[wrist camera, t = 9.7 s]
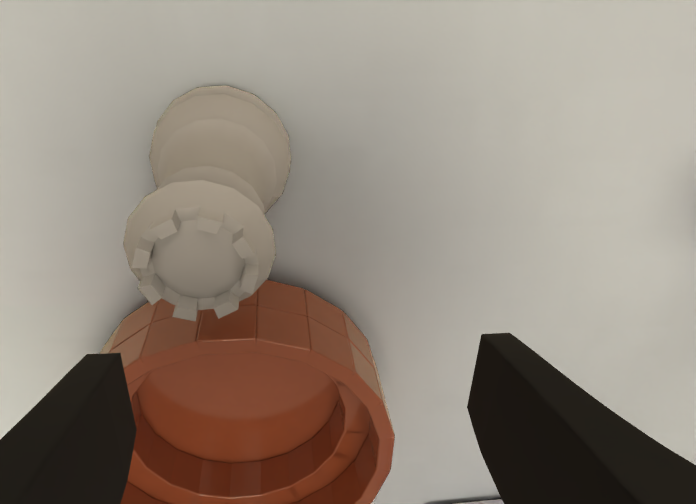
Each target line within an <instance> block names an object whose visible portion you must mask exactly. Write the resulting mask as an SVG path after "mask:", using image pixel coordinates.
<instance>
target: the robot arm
mask: <svg viewBox="0 0 696 504" xmlns="http://www.w3.org/2000/svg"><path fill="white" fill-rule="evenodd" d="M467 408H468V411H469V415H470V418H471V422H472V425H473V429H474V432H475V435H476V438H477V441H478V444H479V448H480V451H481V453H482V456H483V458H484V460H485V463H486V465H487V467H488V469H489V472H490V474H491V476H492V478H493V481H494V483H495V485H496V487H497V490H498V492H499V494H500V496H501V498H502V499H497V500H486V501H475V502H464V503H454V504H696V465H694V464H693V463H691V462H689V461H688V460H686V459H684V458H683V457H681V456H679V455H678V454H676V453H674V452H673V451H671V450H669V449H668V448H666V447H665V446H663V445H661V444H660V443H658V442H657V441H655V440H654V439H652V438H651V437H649V436H648V435H646V434H645V433H643V432H642V431H640V430H639V429H637V428H636V427H634V426H633V425H631V424H630V423H629V422H627V421H626V420H624V419H623V418H621V417H620V416H618V415H617V414H615V413H614V412H613V411H611V410H610V409H609V408H607V407H606V406H604V405H603V404H602V403H600V402H599V401H598V400H596V399H595V398H594V397H592V396H591V395H589V394H588V393H587V392H586V391H584V390H583V389H582V388H580V387H579V386H578V385H576V384H575V383H574V382H572V381H571V380H570V379H569V378H567V377H566V376H565V375H563V374H562V373H561V372H560V371H558V370H557V369H556V368H554V367H553V366H552V365H551V364H549V363H548V362H547V361H546V360H544V359H543V358H542V357H540V356H539V355H538V354H537V353H535V352H534V351H533V350H532V349H530V348H529V347H528V346H526V345H525V344H524V343H522V342H521V341H520V340H518V339H517V338H516V337H514V336H513V335H512V334H510V333H499V334H482V335H481V340H480V345H479V350H478V355H477V360H476V365H475V370H474V375H473V381H472V386H471V391H470V396H469V401H468V406H467ZM136 431H137V429H136V424H135V420H134V415H133V410H132V405H131V401H130V396H129V391H128V387H127V382H126V377H125V372H124V368H123V363H122V358H121V354H120V353H104V354H87V355H86V356H85V357H84V358H83V359H82V360H81V361H80V362H79V363H78V364H76V365H75V366H74V367H73V368H72V369H71V370H70V371H69V372H68V373H67V374H66V375H65V376H64V377H63V378H62V379H61V380H60V381H59V382H58V383H57V384H56V385H55V386H54V387H53V388H52V389H51V391H50V392H49V393H48V394H47V395H46V396H45V397H44V398H43V399H42V400H41V401H40V402H39V403H38V404H37V405H36V406H35V407H34V408H33V409H32V410H31V411H29V412H28V413H27V414H26V415H25V416H24V417H23V418H22V419H21V420H20V421H19V422H18V423H17V424H16V425H15V426H14V427H13V428H12V429H11V430H10V431H9V432H8V433H7V434H6V435H5V436H4V437H3V438H2V439H1V440H0V504H120V503H121V500H122V497H123V494H124V490H125V487H126V484H127V480H128V475H129V470H130V465H131V460H132V454H133V449H134V443H135V437H136Z"/></svg>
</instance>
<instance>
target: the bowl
mask: <svg viewBox="0 0 696 504" xmlns="http://www.w3.org/2000/svg"><path fill="white" fill-rule="evenodd" d="M174 309H175V305H173V304H171V303H169V302H167V301H166V300H164V299H162V298H161V299H160V300H158V301H157V302H156V303H154V304H153V305H151V304H150V302H147V303H146V304H145V305H143V306H142V307H140V308H139V309H137V310H136V311H134V312H133V313H131V314H130V315H128V316H127V317H126V318H124V320H123V321H121V323H120V324H119V326H118V327H117V329H116V330H115V331H114V333H113V334H112V336H111V337H110V338H109V340H108V341H107V343H106V344H105V346H104V347H103V348H102V350H101V351H100V353H99V354H104V353H120V354H121V358H122V363H123V368H124V372H125V377H126V382H127V387H128V391H129V396H130V401H131V405H132V410H133V415H134V420H135V424H136V429H137V431H136V437H135V443H134V449H133V454H132V460H131V465H130V470H129V475H128V480H127V484H126V487H125V490H124V494H123V497H122V500H121V503H120V504H371V503H372V502H373V500H374V499H375V497H376V495H377V494H378V492H379V490H380V488H381V486H382V485H383V483H384V481H385V479H386V478H387V476H388V474H389V472H390V469H391V464H392V455H393V447H394V438H395V435H394V431H393V427H392V423H391V419H390V416H389V412H388V408H387V404H386V401H385V397H384V393H383V389H382V386H381V382H380V378H379V374H378V370H377V367H376V364H375V361H374V358H373V355H372V352H371V349H370V346H369V343H368V340H367V339H366V337H365V336H364V335H363V334H362V332H361V331H360V330H359V329H358V328H357V327H356V326H355V324H354V323H353V322H352V321H351V320H350V319H349V317H348V316H347V315H346V314H345V313H344V312H343V311H342V310H341V309H339V308H337V307H336V306H334V305H332V304H330V303H329V302H327V301H325V300H324V299H322V298H320V297H318V296H317V295H315V294H313V293H311V292H310V291H308V290H306V289H303V288H300V287H296V286H292V285H287V284H283V283H279V282H275V281H271V280H265V281H264V283H263V284H262V285H261V286H260V287H259V288H258V289H257V290H256V291H255V292H254V293H253V294H252V296H250V297H248V298H246V299H243V300H241V301H239V307H238V310H236V311H234V312H232V313H230V314H228V315H225V316H223V317H221V318H219V319H218V317H217V315H216V312H215V310H214V309H206V310H198V312H197V317H196V321H191V320H186V319H181V318H176V317H172V316H173V312H174Z"/></svg>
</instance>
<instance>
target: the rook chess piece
mask: <svg viewBox="0 0 696 504" xmlns="http://www.w3.org/2000/svg"><path fill="white" fill-rule="evenodd" d="M149 158H150V163H151V167H152V171H153V175H154V179H155V183H156V186H157V190H156V191H155V192H153V193H151V194H149V195H147V196H145V197H144V198H143V200H142V201H141V202H140V204H139V205H138V206H137V207H136V209H135V210H134V211H133V213H132V214H131V215H130V216H129V218H128V221H127V227H126V232H125V237H124V243H123V245H124V248H125V252H126V255H127V259H128V262H129V266H130V269H131V270H132V272H133V273H134V274H135V275H136V277H137V278H138V279H139V280H140V284H139V286H138V289H139V290H140V292H141V293H142V294H143V295H144V296H145V298H146V299H147V300H148V301H149V302H150V304H151V305H153V304H154V303H156V302H157V301H158V300H160V299H161V298H162V299H164V300H166V301H167V302H169V303H171V304H173V305H175V309H174V312H173V316H172V317H176V318H181V319H186V320H191V321H196V317H197V312H198V310H206V309H214V310H215V312H216V315H217V317H218V319H219V318H221V317H223V316H225V315H228V314H230V313H232V312H234V311H236V310H238V307H239V301H241V300H243V299H246V298H248V297H250V296H252V294H253V293H254V292H255V291H256V290H257V289H258V288H259V287H260V286H261V285H262V284H263V283H264V281H265V280H266V279H267V278H268V277H269V274H270V271H271V268H272V265H273V262H274V259H275V256H276V251H275V243H274V235H273V229H272V227H271V226H270V224H269V222H268V221H267V219H266V218H265V213H266V212H267V211H268V210H269V208H270V207H271V206H272V205H273V204H274V203H275V202H276V201H277V199H278V198H279V197H280V196H281V195H282V194H283V191H284V187H285V184H286V181H287V178H288V175H289V172H290V164H291V155H290V145H289V136H288V134H287V132H286V130H285V129H284V127H283V125H282V123H281V121H280V120H279V118H278V116H277V114H276V112H275V111H273V110H272V109H271V108H270V107H268V106H267V105H266V104H265V103H264V102H262V101H261V100H260V99H259V98H258V97H256V96H255V95H254V94H251V93H248V92H245V91H242V90H239V89H236V88H233V87H229V86H226V85H225V86H211V87H198V88H196V89H194V90H192V91H190V92H188V93H186V94H184V95H182V96H181V97H179V98H177V99H175V100H173V101H172V103H171V104H170V105H169V107H168V108H167V109H166V111H165V112H164V113H163V115H162V116H161V117H160V119H159V120H158V121H157V125H156V129H155V130H154V134H153V139H152V144H151V149H150V154H149Z"/></svg>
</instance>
